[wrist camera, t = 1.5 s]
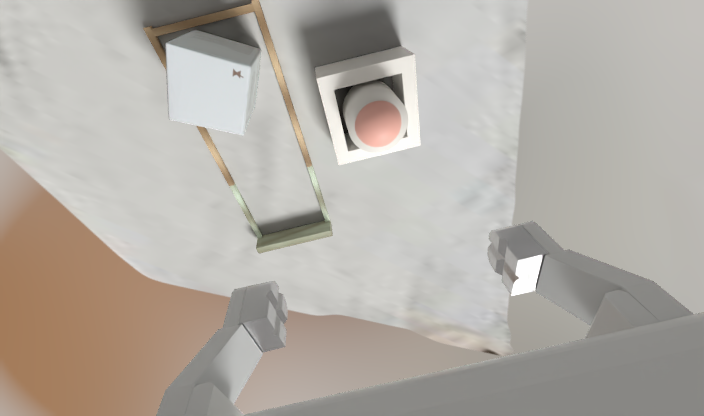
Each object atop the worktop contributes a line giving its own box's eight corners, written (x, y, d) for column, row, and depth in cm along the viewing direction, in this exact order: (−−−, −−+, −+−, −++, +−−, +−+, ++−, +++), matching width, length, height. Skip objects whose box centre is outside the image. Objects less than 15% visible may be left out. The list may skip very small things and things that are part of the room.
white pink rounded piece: (337, 87, 29) (344, 108, 24) (392, 73, 29) (411, 92, 24) (348, 139, 33) (356, 167, 28) (398, 127, 33) (416, 153, 28)
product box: (193, 27, 27) (163, 38, 21) (263, 48, 29) (252, 64, 23) (193, 94, 30) (166, 120, 25) (255, 110, 32) (244, 138, 26)
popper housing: (314, 67, 30) (316, 78, 27) (401, 45, 30) (414, 54, 27) (335, 147, 36) (338, 165, 32) (408, 129, 36) (420, 145, 32)
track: (145, 27, 27) (132, 31, 25) (258, -2, 26) (254, -1, 24) (260, 241, 43) (258, 253, 41) (331, 224, 43) (332, 235, 41)
